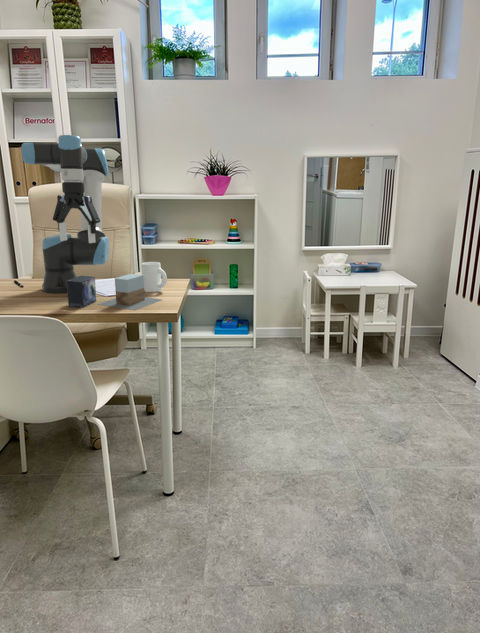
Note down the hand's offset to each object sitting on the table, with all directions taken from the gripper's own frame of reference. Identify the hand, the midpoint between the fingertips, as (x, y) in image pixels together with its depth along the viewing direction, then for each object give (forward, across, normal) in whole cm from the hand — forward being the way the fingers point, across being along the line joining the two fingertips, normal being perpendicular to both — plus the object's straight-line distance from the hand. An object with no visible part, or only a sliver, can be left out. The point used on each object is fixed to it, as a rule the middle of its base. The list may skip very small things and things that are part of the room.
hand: (77, 241), depth 176 cm
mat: (+24, +14, +11) cm, 30 cm away
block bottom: (+24, +14, +11) cm, 30 cm away
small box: (+24, 0, 0) cm, 24 cm away
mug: (+24, +11, +32) cm, 42 cm away
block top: (+19, +14, +11) cm, 26 cm away
